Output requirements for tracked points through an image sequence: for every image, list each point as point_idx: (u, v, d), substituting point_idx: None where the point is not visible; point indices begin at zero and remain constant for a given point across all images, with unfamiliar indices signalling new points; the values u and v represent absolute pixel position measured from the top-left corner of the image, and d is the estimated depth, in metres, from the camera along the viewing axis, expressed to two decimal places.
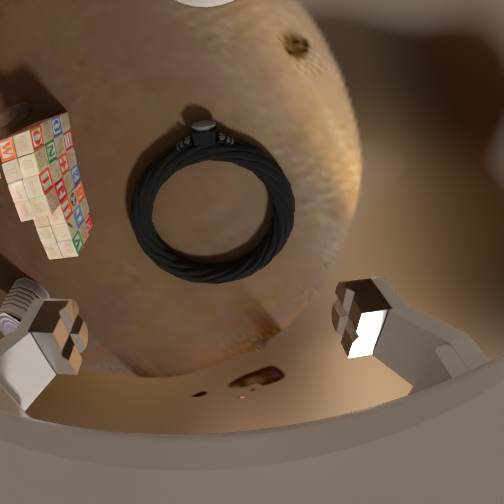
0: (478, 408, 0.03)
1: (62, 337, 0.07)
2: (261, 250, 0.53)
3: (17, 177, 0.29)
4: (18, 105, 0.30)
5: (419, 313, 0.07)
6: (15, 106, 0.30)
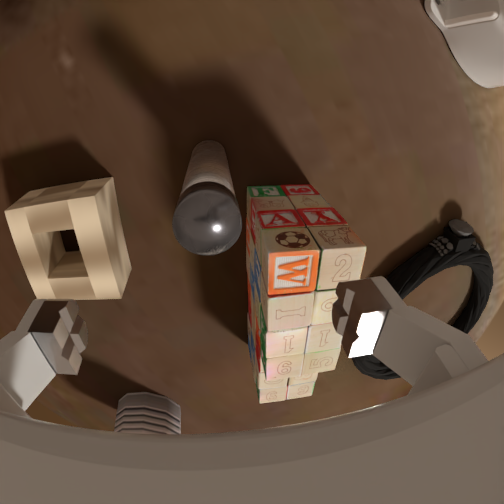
0: (478, 408, 0.03)
1: (62, 337, 0.07)
2: None
3: (301, 323, 0.20)
4: (219, 148, 0.22)
5: (419, 313, 0.07)
6: (219, 150, 0.21)
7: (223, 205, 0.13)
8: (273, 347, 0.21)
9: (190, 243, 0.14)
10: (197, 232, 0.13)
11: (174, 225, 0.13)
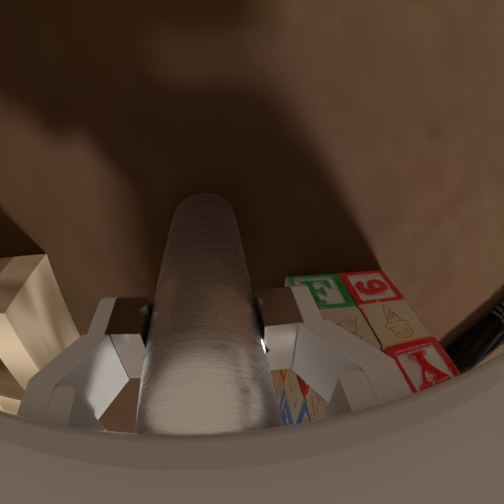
0: (478, 408, 0.03)
1: (144, 338, 0.07)
2: None
3: None
4: (225, 222, 0.11)
5: (335, 329, 0.07)
6: (226, 233, 0.10)
7: None
8: None
9: None
10: None
11: None
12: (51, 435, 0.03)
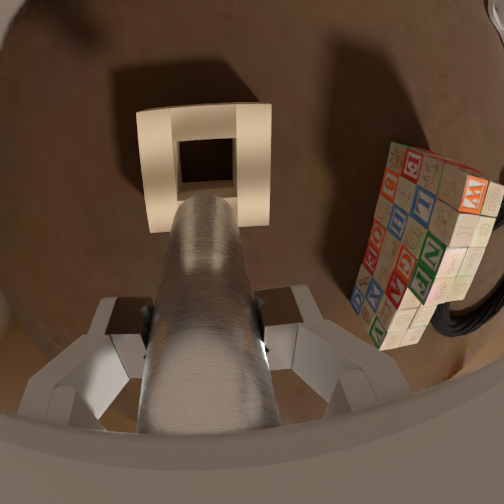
0: (478, 408, 0.03)
1: (145, 338, 0.07)
2: (499, 299, 0.43)
3: (466, 242, 0.20)
4: (225, 224, 0.11)
5: (335, 329, 0.07)
6: (227, 234, 0.10)
7: None
8: (444, 265, 0.21)
9: None
10: None
11: None
12: (51, 435, 0.03)
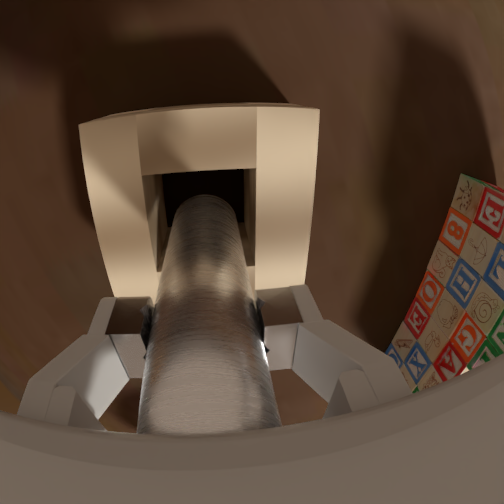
0: (478, 408, 0.03)
1: (145, 338, 0.07)
2: None
3: None
4: (225, 225, 0.11)
5: (335, 329, 0.07)
6: (227, 235, 0.10)
7: None
8: None
9: None
10: None
11: None
12: (51, 435, 0.03)
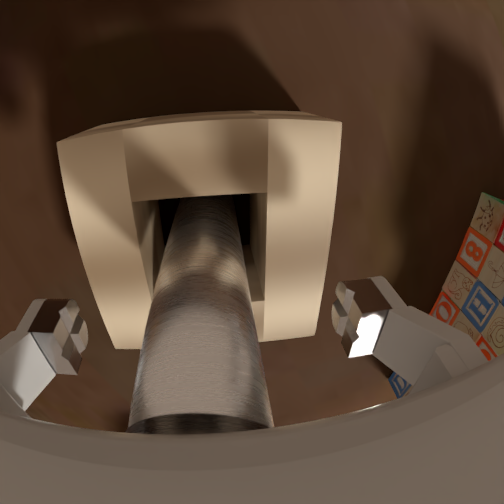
0: (478, 408, 0.03)
1: (62, 337, 0.07)
2: None
3: None
4: (223, 206, 0.13)
5: (419, 313, 0.07)
6: (224, 213, 0.12)
7: None
8: None
9: None
10: None
11: None
12: (51, 435, 0.03)
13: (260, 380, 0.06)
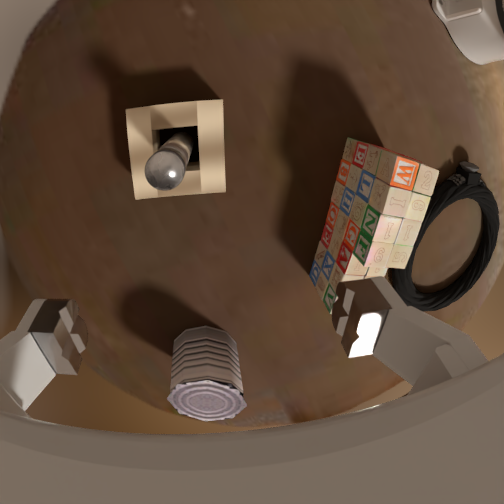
0: (478, 408, 0.03)
1: (62, 337, 0.07)
2: (469, 276, 0.49)
3: (400, 213, 0.28)
4: (186, 136, 0.30)
5: (419, 313, 0.07)
6: (185, 137, 0.30)
7: (173, 158, 0.21)
8: (380, 231, 0.29)
9: (155, 182, 0.21)
10: (158, 175, 0.21)
11: (145, 171, 0.21)
12: (51, 435, 0.03)
13: (184, 153, 0.23)
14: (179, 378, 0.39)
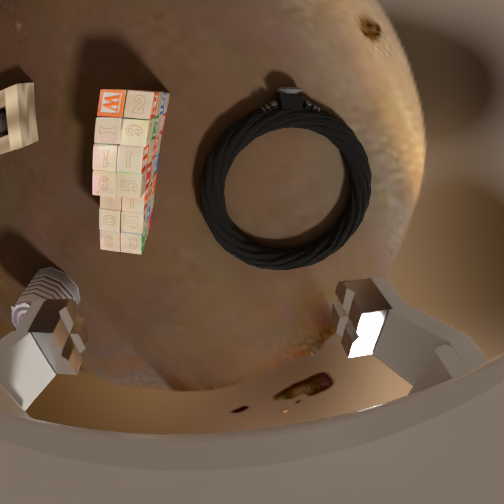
0: (478, 408, 0.03)
1: (62, 337, 0.07)
2: (336, 231, 0.49)
3: (112, 140, 0.28)
4: None
5: (419, 313, 0.07)
6: (4, 114, 0.29)
7: None
8: (97, 159, 0.29)
9: None
10: None
11: None
12: (51, 435, 0.03)
13: None
14: None
